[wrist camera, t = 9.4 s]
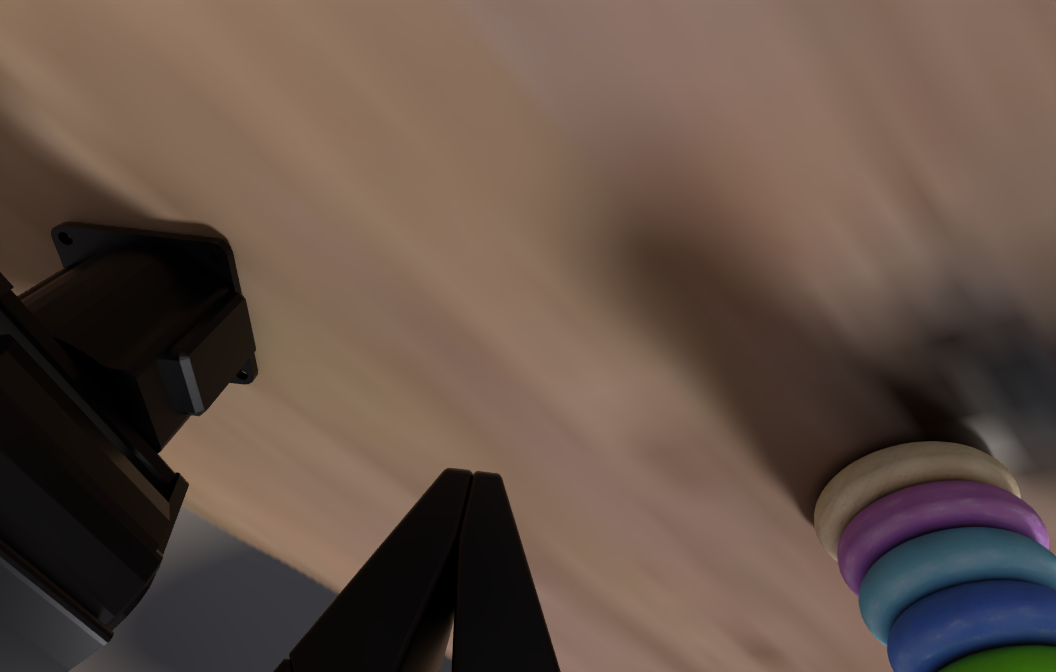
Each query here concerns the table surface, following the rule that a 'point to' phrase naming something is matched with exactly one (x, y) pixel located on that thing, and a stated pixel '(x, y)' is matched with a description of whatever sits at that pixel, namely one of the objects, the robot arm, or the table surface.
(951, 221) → the table surface
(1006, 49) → the table surface
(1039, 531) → the stacking toy
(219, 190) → the table surface
